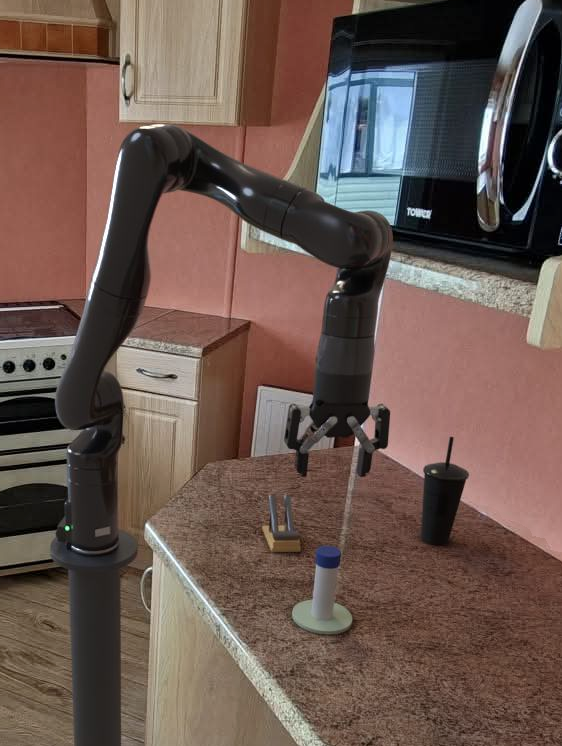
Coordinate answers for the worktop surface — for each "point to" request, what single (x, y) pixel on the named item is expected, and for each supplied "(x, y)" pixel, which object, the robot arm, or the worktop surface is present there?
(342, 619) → the mat
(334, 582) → the vial
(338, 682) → the worktop surface
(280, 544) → the rack
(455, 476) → the drinking cup
